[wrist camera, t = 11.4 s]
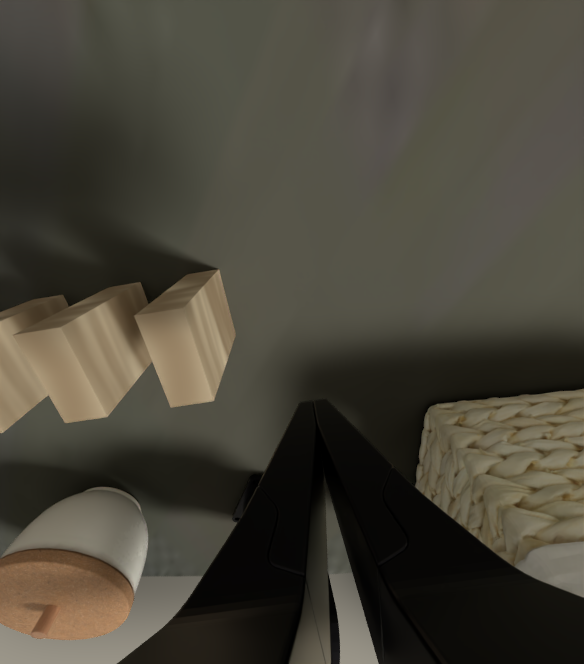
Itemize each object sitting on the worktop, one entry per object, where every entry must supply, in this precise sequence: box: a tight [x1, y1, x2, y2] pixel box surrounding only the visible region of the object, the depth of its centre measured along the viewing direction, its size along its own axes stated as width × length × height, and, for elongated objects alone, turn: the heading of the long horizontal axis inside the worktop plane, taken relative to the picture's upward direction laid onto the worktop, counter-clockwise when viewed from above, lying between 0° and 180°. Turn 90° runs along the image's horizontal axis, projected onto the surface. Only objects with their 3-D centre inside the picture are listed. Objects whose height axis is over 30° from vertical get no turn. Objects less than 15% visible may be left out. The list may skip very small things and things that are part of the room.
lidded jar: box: [0, 487, 148, 640], centre depth 25 cm, size 11×11×9 cm
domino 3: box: [134, 269, 236, 407], centre depth 17 cm, size 2×5×8 cm, turn 9°
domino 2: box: [13, 282, 152, 423], centre depth 18 cm, size 2×5×8 cm, turn 9°
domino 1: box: [0, 295, 69, 433], centre depth 18 cm, size 2×5×8 cm, turn 9°
